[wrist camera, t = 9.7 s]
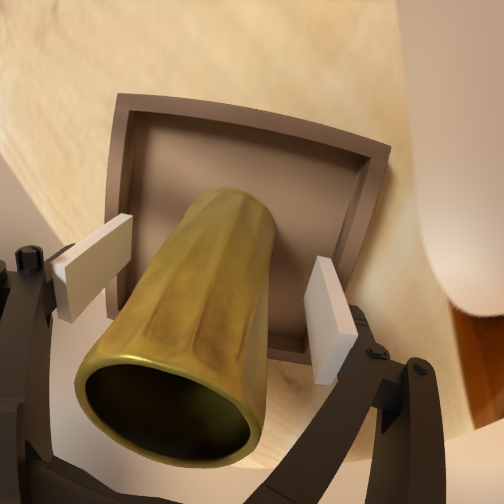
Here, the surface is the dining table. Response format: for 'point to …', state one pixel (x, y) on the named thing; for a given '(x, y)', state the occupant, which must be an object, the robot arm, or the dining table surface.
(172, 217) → the walnut tray
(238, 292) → the vase
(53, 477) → the robot arm
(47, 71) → the dining table surface
